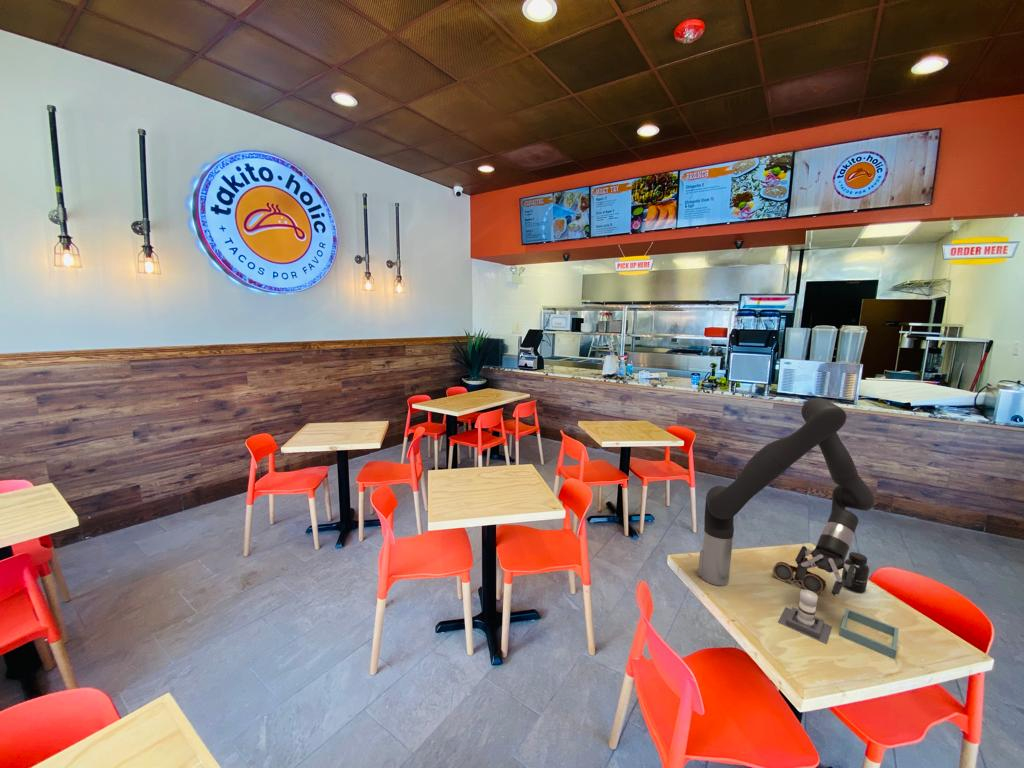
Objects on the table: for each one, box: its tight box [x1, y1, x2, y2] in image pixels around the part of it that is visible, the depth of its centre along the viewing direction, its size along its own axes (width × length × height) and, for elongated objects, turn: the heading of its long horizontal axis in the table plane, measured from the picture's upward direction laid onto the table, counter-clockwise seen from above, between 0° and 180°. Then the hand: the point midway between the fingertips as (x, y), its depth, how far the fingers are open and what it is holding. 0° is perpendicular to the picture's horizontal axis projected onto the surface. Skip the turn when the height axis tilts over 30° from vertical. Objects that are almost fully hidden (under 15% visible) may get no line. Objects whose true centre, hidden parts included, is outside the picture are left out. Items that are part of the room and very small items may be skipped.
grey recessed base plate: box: [777, 606, 833, 645], centre depth 125 cm, size 12×10×2 cm
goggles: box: [772, 556, 827, 595], centre depth 148 cm, size 15×13×10 cm
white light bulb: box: [796, 589, 819, 629], centre depth 124 cm, size 4×4×10 cm
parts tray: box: [839, 608, 900, 660], centre depth 121 cm, size 12×12×4 cm
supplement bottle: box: [841, 551, 870, 594], centre depth 144 cm, size 7×7×12 cm
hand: (816, 586), depth 126 cm, fingers open, 8 cm apart
